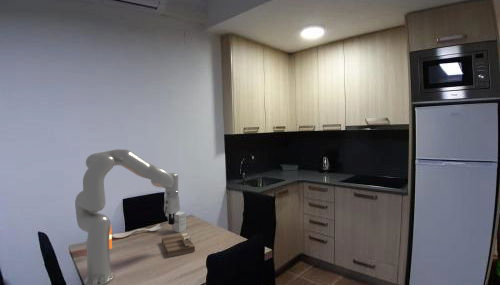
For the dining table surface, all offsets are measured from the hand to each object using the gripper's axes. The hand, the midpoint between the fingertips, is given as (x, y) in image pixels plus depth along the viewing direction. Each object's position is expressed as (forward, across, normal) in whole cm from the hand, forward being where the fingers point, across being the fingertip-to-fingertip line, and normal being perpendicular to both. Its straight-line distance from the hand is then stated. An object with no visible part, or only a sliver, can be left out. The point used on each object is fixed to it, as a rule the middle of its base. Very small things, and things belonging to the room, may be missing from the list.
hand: (171, 224), depth 162 cm
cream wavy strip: (+15, +14, +37) cm, 42 cm away
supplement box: (+14, +28, +13) cm, 34 cm away
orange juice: (+16, -12, +41) cm, 45 cm away
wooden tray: (+14, +3, -2) cm, 15 cm away
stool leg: (+11, +3, -8) cm, 14 cm away
